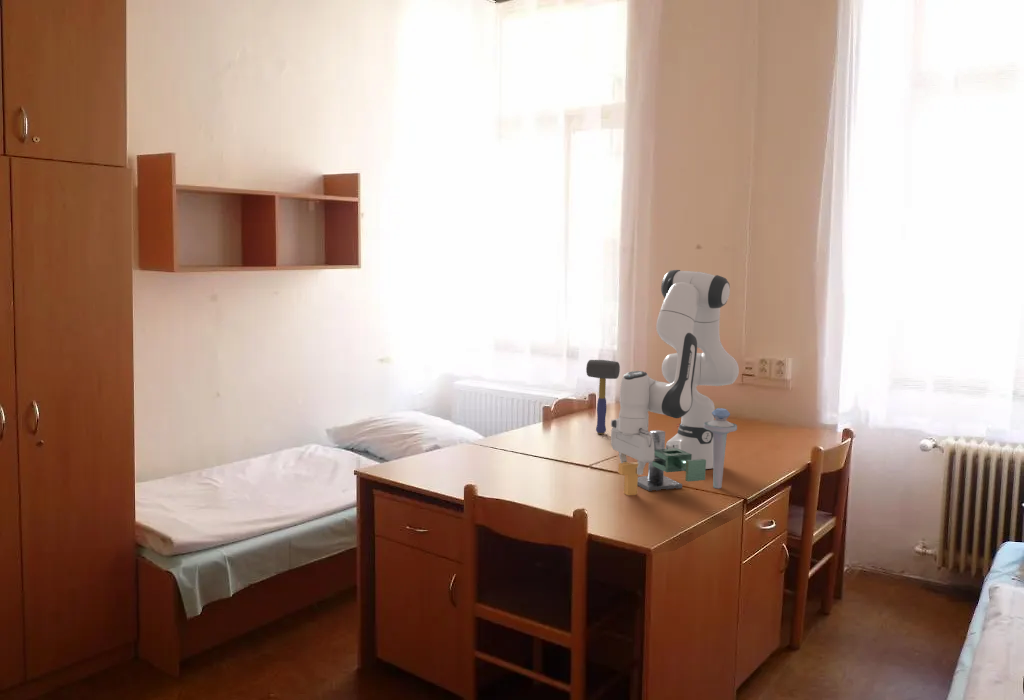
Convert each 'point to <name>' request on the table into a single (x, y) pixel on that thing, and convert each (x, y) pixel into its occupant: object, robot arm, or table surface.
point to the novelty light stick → (719, 441)
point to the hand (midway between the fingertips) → (631, 470)
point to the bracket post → (670, 466)
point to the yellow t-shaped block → (629, 477)
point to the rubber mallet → (602, 386)
